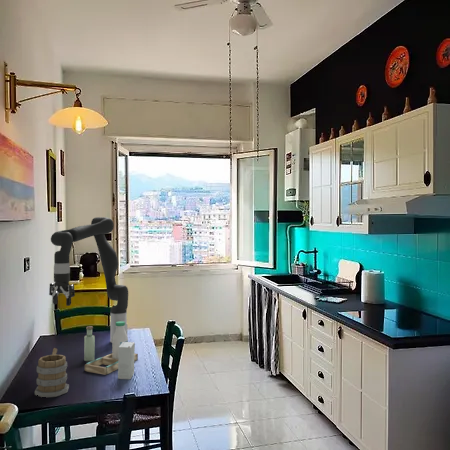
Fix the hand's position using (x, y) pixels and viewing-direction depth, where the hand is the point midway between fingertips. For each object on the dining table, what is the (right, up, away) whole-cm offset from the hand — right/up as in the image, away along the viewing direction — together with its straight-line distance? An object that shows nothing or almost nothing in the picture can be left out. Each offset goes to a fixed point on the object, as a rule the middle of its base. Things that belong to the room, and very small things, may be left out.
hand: (61, 304), depth 223 cm
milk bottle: (+28, -30, +4) cm, 41 cm away
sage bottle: (+12, -29, +7) cm, 32 cm away
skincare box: (+36, -30, -17) cm, 50 cm away
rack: (+25, -29, -1) cm, 39 cm away
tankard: (+8, -30, -32) cm, 45 cm away
